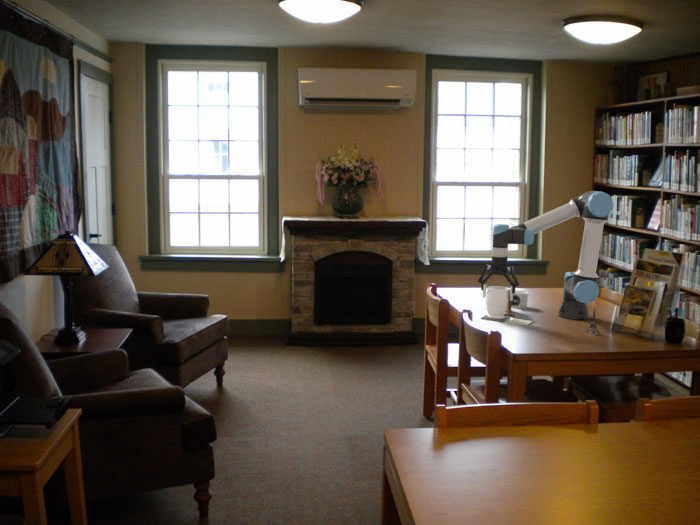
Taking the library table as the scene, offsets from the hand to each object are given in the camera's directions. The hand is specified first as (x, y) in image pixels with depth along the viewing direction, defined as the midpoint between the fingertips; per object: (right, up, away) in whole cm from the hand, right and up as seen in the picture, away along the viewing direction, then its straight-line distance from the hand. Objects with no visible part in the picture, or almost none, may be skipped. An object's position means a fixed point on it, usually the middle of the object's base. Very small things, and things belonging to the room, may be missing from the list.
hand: (497, 298), depth 351 cm
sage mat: (+10, -11, -5) cm, 16 cm away
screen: (+8, -8, +16) cm, 20 cm away
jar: (-1, -10, +1) cm, 10 cm away
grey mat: (-1, -10, +2) cm, 10 cm away
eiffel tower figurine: (+39, -16, -21) cm, 47 cm away
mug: (+16, -6, +33) cm, 37 cm away
